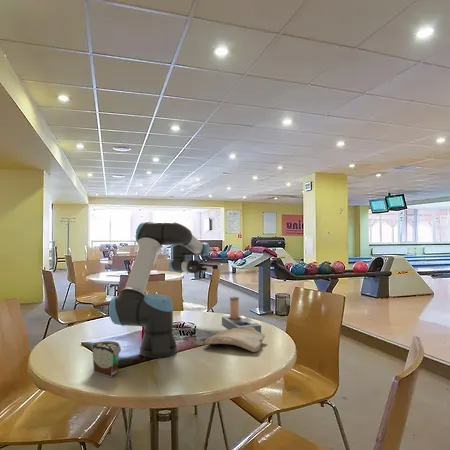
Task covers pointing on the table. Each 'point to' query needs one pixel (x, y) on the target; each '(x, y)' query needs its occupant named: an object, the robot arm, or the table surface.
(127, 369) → the table surface
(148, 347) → the robot arm
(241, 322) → the socket board
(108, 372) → the food container
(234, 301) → the plug
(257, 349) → the beige flat rock
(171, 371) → the table surface
